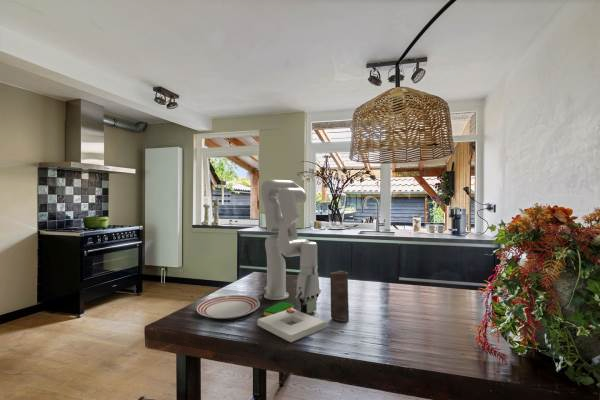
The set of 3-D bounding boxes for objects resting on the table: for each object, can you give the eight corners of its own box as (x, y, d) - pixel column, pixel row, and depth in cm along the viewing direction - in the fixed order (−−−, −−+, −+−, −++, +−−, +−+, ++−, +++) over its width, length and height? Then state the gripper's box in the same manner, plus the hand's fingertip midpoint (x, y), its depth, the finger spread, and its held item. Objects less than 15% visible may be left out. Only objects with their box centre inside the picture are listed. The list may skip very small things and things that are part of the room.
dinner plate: (254, 324, 123) (254, 315, 123) (186, 323, 124) (186, 315, 124) (263, 301, 151) (263, 294, 151) (208, 301, 151) (208, 294, 151)
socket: (257, 325, 121) (257, 317, 121) (291, 313, 134) (291, 306, 134) (290, 342, 107) (290, 333, 107) (325, 327, 119) (325, 319, 119)
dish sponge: (293, 309, 141) (293, 303, 141) (277, 319, 129) (277, 313, 129) (280, 306, 144) (280, 301, 144) (263, 316, 132) (263, 310, 132)
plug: (299, 311, 135) (299, 296, 135) (307, 308, 139) (307, 293, 139) (308, 315, 131) (308, 299, 131) (316, 312, 135) (316, 296, 134)
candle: (334, 324, 122) (334, 274, 122) (327, 317, 129) (327, 270, 129) (351, 322, 124) (351, 272, 124) (344, 315, 131) (344, 268, 131)
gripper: (316, 265, 143) (315, 304, 143) (288, 271, 131) (288, 313, 132) (328, 268, 137) (327, 308, 138) (300, 274, 126) (299, 318, 126)
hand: (308, 310), depth 135 cm, fingers closed on plug, 5 cm apart
